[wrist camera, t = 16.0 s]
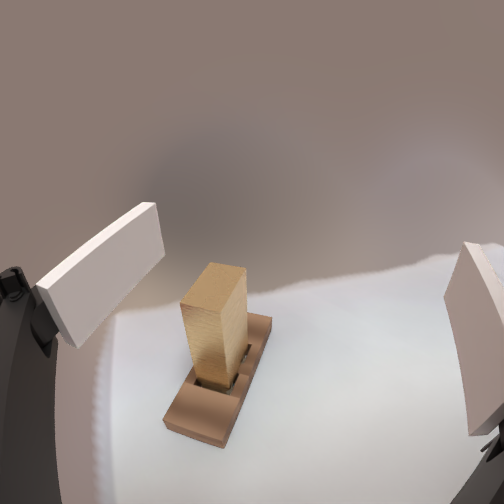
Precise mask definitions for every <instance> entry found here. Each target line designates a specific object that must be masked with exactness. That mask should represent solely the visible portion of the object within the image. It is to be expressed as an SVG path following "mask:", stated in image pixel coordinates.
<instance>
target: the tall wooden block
mask: <svg viewBox="0 0 504 504" xmlns="http://www.w3.org/2000/svg"><path fill="white" fill-rule="evenodd" d="M180 307H181V312H182V317H183V321H184V326H185V330H186V335H187V339H188V344H189V348H190V352H191V356H192V360H193V364H194V369H195V372H196V376H197V380H198V381H199V382H201V385H202V388H205V389H208V390H212V391H215V392H219V393H222V394H226V395H229V396H230V394H231V391H232V389H233V381H234V379H235V377H236V375H237V372H238V370H239V368H240V365H241V363H242V364H244V362H245V359H246V358H245V354H246V352H247V349H248V327H247V289H246V268H241V267H236V266H229V265H224V264H218V263H212V262H210V263H209V265H208V266H207V267H206V269H205V270H204V271H203V273H202V274H201V275H200V277H199V278H198V279H197V280H196V282H195V283H194V284H193V286H192V287H191V288H190V290H189V291H188V292H187V294H186V295H185V296H184V298H183V299H182V300H181V302H180Z"/></svg>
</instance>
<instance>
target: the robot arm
mask: <svg viewBox="0 0 504 504" xmlns="http://www.w3.org/2000/svg"><path fill="white" fill-rule="evenodd" d="M164 256H165V251H164V246H163V241H162V235H161V230H160V224H159V219H158V213H157V207H156V203H148V202H142V203H141V204H139V205H138V206H136V207H135V208H133V209H132V210H130V211H129V212H128V213H126V214H125V215H123V216H122V217H120V218H119V219H118V220H116V221H115V222H113V223H112V224H111V225H109V226H108V227H107V228H105V229H104V230H102V231H101V232H100V233H98V234H97V235H96V236H94V237H93V238H92V239H90V240H89V241H88V242H87V243H85V244H84V245H83V246H81V247H80V248H79V249H78V250H76V251H75V252H74V253H73V254H71V255H70V256H69V257H68V258H66V259H65V260H64V261H62V262H61V263H60V264H59V265H58V266H56V267H55V268H54V269H53V270H51V271H50V272H49V273H48V274H47V275H46V276H44V277H43V278H42V279H41V280H40V281H39V282H37V283H36V285H35V286H34V287H33V288H31V289H30V287H29V285H28V282H27V280H26V278H25V276H24V274H23V271H22V269H21V268H20V267H11V268H9V269H6V270H5V271H4V272H2V273H1V274H0V504H62V502H61V496H60V489H59V481H58V472H57V461H56V448H55V424H54V423H55V419H54V405H55V375H56V360H57V350H58V340H57V338H56V336H55V335H56V334H57V333H58V332H60V333H61V335H62V337H63V339H64V340H65V342H66V343H68V344H69V345H71V346H73V347H75V348H77V349H79V348H80V347H81V345H82V344H83V343H84V342H85V341H86V340H87V338H88V337H89V336H90V335H91V334H92V333H93V332H94V331H95V329H96V328H97V327H98V326H99V325H100V324H101V323H102V321H103V320H104V319H105V318H106V317H107V316H108V315H109V314H110V313H111V312H112V310H113V309H114V308H115V307H116V306H117V305H118V304H119V303H120V302H121V301H122V300H123V298H124V297H125V296H126V295H127V294H128V293H129V292H130V291H131V290H132V289H133V288H134V287H135V286H136V285H137V284H138V282H139V281H140V280H141V279H142V278H143V277H144V276H145V275H146V274H147V273H148V272H149V271H150V270H151V269H152V268H153V267H154V266H155V265H156V264H157V263H158V262H159V261H160V260H161V259H162V258H163V257H164ZM444 300H445V304H446V308H447V311H448V315H449V319H450V323H451V327H452V331H453V335H454V340H455V344H456V349H457V354H458V359H459V364H460V369H461V375H462V381H463V388H464V394H465V402H466V411H467V420H468V432H469V436H478V435H488V434H489V433H490V432H491V431H492V430H493V429H494V428H496V427H497V426H498V425H499V432H500V434H498V435H497V436H496V437H495V438H494V439H493V440H491V441H490V442H489V443H488V444H487V445H485V446H484V447H483V448H482V449H481V450H480V451H481V452H483V451H485V450H486V449H487V448H488V450H487V452H486V453H485V455H484V457H483V458H482V460H481V461H480V463H479V464H478V466H477V467H476V469H475V470H474V472H473V473H472V475H471V476H470V478H469V479H468V481H467V482H466V483H465V485H464V486H463V487H462V489H461V490H460V491H459V493H458V494H457V495H456V497H455V498H454V499H453V501H452V502H451V503H450V504H504V288H503V286H502V284H501V282H500V281H499V279H498V277H497V275H496V273H495V271H494V269H493V268H492V266H491V264H490V262H489V261H488V259H487V257H486V256H485V254H484V252H483V251H482V249H481V247H480V246H479V244H473V243H468V242H463V245H462V248H461V251H460V254H459V257H458V260H457V263H456V266H455V269H454V272H453V274H452V277H451V280H450V282H449V285H448V287H447V290H446V292H445V295H444Z"/></svg>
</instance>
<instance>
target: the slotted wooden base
mask: <svg viewBox="0 0 504 504" xmlns="http://www.w3.org/2000/svg"><path fill="white" fill-rule="evenodd" d="M247 327H248V349H247V352H246V354H245V355H247V357H246V360H245V362H244V364H242V363H241V365H240V368H239V370H238V372H237V375H236V377H235V379H234V381H233V383H235V385H234V387H233V390H232V392H231V394H230V396H229V395H226V394H222V393H219V392H215V391H212V390H208V389H205V388H202V387H201V382H199V381H198V380H197V376H196V372H195V369H194V365H193V367H192V369H191V371H190V372H189V374H188V376H187V378H186V379H185V381H184V383H183V385H182V386H181V388H180V390H179V392H178V393H177V395H176V397H175V399H174V400H173V402H172V404H171V405H170V407H169V409H168V411H167V412H166V414H165V416H164V418H163V419H162V420H163V421H164V423H165V425H166V427H167V429H169V430H172V431H175V432H177V433H180V434H182V435H185V436H188V437H190V438H193V439H196V440H199V441H202V442H205V443H208V444H211V445H214V446H217V447H220V448H224V447H225V445H226V443H227V440H228V438H229V436H230V433H231V431H232V429H233V426H234V424H235V421H236V419H237V416H238V414H239V412H240V409H241V407H242V404H243V402H244V399H245V397H246V394H247V392H248V389H249V387H250V384H251V382H252V379H253V376H254V374H255V371H256V369H257V366H258V364H259V361H260V358H261V356H262V353H263V350H264V348H265V345H266V342H267V340H268V337H269V334H270V332H271V327H272V317H268V316H263V315H258V314H253V313H248V312H247Z"/></svg>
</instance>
